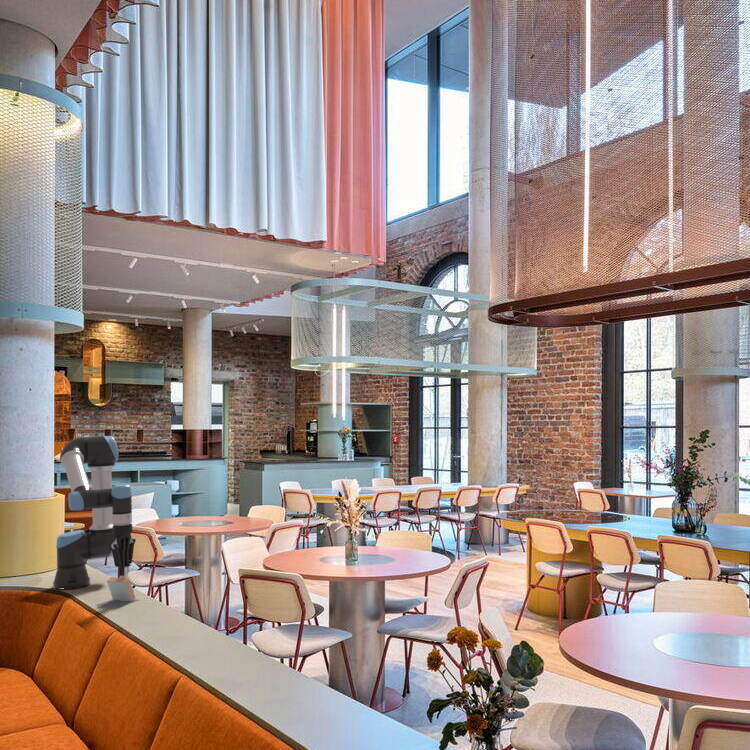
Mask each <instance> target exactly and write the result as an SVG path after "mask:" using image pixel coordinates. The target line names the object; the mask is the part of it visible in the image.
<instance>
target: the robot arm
mask: <svg viewBox="0 0 750 750" xmlns="http://www.w3.org/2000/svg"><path fill="white" fill-rule="evenodd" d="M118 460H119V447H118V444H117V441H116V439H115V438H114V437H113V436H111V435H98V436H86V437H82V436H81V437H80V436H79V437H75V438H73V439H71V440H70V441H68V442H67V443H66V444H65V445H64V446H63V447H62V450H61V451H60V454H59V461H60V465H61V466H62V467H63V468H64V469H65V473H66V477H67V481H68V485H69V487H70V492H69V493H68V498H67V499H68V501H67V502H68V508H69V510H71V511H84V510H85V511H86V510H92V524H91V526H90V527H89V528H88V531H89V532H85V530H83V529H77V530H71V531H68V532H64V533H61V534H60V535H58V536H57V537H56V546H55V548H56V572H55V576H54V580H53V583H52V584H53V587H55V588H64V590H71V589H70V588H75V589H79V588H78V587H81V588H84V586H85V587H87V586H89V585H90V584H91V578H90V576H89V573H88V569H87V567H86V561H87V560H94V559H101V558H110V557H112V558H113V562H114V567H115V568H118V575H119V578H129V567H131V564H132V563H133V557H134V549H135V545H136V541H137V539H136V538H133V537H132V533H133V524H132V523H133V513H132V512H133V511H132V510H133V507H132V502H133V501H132V499H133V498H132V495H133V492H132V486H131V485H130V484H117V485H115V484H114V485H113V483H112V482H113V480H112V479H113V478H112V476H113V475H112V470H113V468H114V467H115V466H116V463H115V462H118ZM85 464H87V468H88V470H90V473H91V475H90V476H91V484H90V481H89V478H88V474H87V472H86V467H85Z"/></svg>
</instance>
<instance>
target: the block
mask: <svg viewBox="0 0 750 750" xmlns="http://www.w3.org/2000/svg"><path fill="white" fill-rule="evenodd" d="M106 583H107V586H108V588H109V592H110V595H111V599H113V600H117V601H129V602H132V601H133V600H134V599H135V598H136V596H135V595H136V594H135V592H134V589H133V586H132V583H131V579H130V578H129V577H128V578H120V577H116V576H115V577H114V576H113V577H110V578H108V579H107V581H106Z"/></svg>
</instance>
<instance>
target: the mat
mask: <svg viewBox="0 0 750 750" xmlns="http://www.w3.org/2000/svg"><path fill="white" fill-rule="evenodd" d="M139 601H140V599H137V598H136V599H134V600H133V601H132V602H129V601H117V600H113V598H111V599H109V600H106V601H104V602H101V603H98V604H96V605H94V606H95V607H106V608H114V609H115V608H117V609H118V608H123V607H125V606H127V605H131V604H133V603H135V602H139Z"/></svg>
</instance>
